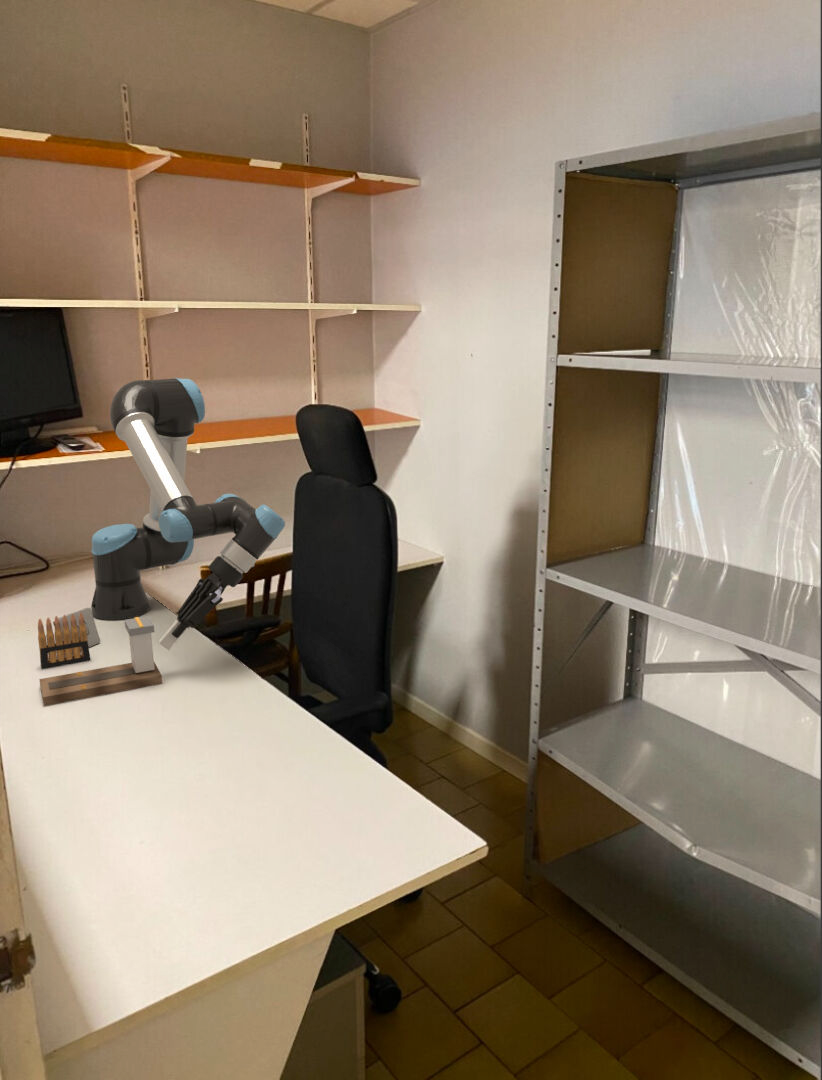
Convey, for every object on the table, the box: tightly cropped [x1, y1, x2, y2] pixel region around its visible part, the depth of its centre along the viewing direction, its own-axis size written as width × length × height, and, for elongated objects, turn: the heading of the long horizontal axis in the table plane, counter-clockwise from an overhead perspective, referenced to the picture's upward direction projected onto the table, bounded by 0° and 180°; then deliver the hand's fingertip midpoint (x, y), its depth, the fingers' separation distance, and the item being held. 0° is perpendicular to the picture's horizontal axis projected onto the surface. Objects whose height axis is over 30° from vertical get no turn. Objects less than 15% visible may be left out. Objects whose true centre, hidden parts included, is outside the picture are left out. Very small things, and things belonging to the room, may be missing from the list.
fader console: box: [39, 661, 163, 707], centre depth 180 cm, size 24×10×2 cm, turn 117°
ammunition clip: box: [37, 612, 92, 670], centre depth 191 cm, size 11×2×12 cm, turn 119°
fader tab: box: [123, 616, 155, 673], centre depth 183 cm, size 5×6×11 cm
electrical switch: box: [52, 607, 101, 653], centre depth 201 cm, size 9×5×9 cm, turn 152°
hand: (163, 645), depth 185 cm, fingers closed
